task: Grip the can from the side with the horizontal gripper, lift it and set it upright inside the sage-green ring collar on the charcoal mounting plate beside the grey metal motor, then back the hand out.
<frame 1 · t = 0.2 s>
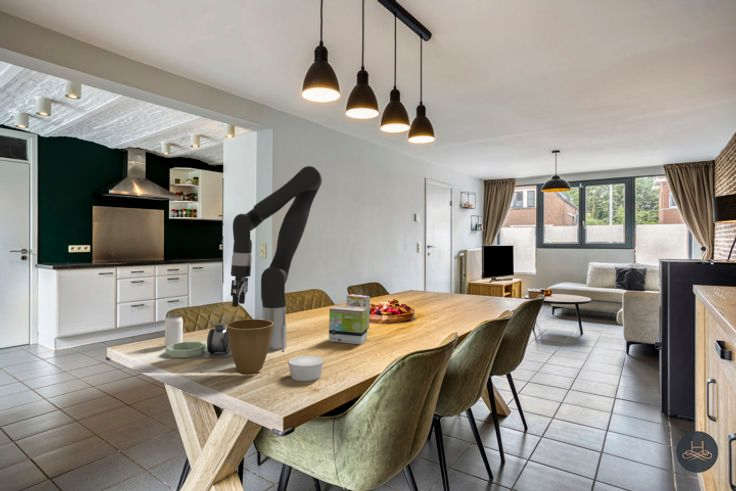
hand: (238, 305, 157), 18 cm above the table, tool pointing down, fingers open, 8 cm apart
ramekin: (305, 377, 128), on the table
can: (173, 346, 161), on the table
tea box: (348, 341, 174), on the table
plant pot: (249, 372, 132), on the table
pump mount: (186, 355, 149), on the table
motor: (220, 352, 150), resting on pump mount
candy bar box: (357, 328, 201), on the table
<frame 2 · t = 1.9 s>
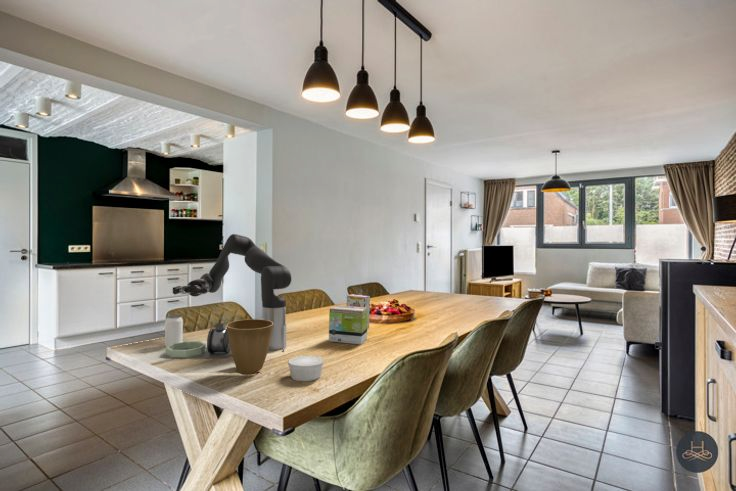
hand: (184, 292, 172), 20 cm above the table, tool horizontal, fingers open, 8 cm apart
nothing on the table moved.
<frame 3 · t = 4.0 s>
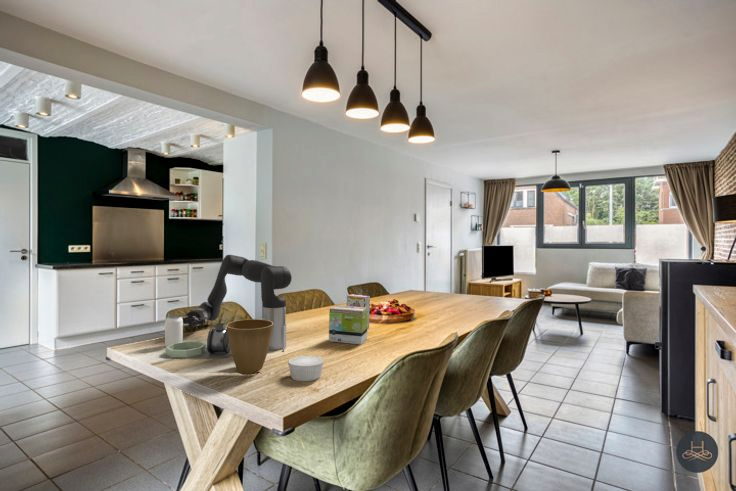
hand: (182, 324, 169), 7 cm above the table, tool horizontal, fingers open, 8 cm apart
nothing on the table moved.
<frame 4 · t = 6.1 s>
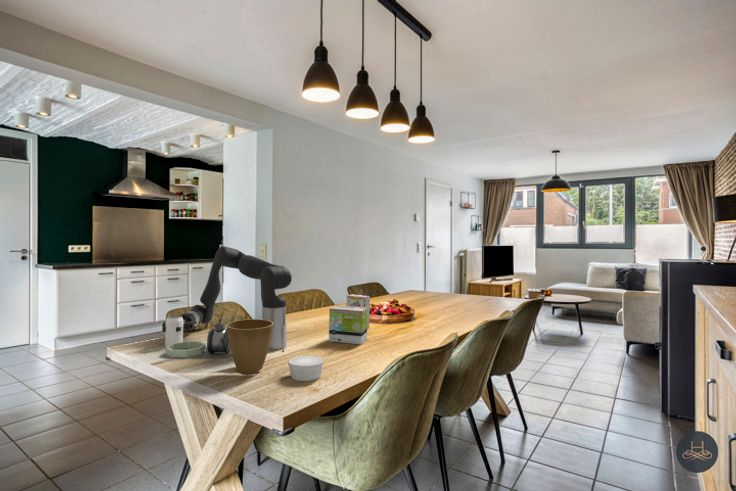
hand: (170, 329, 159), 7 cm above the table, tool horizontal, fingers open, 4 cm apart
can: (173, 346, 161), on the table, touching gripper
everything else where it was.
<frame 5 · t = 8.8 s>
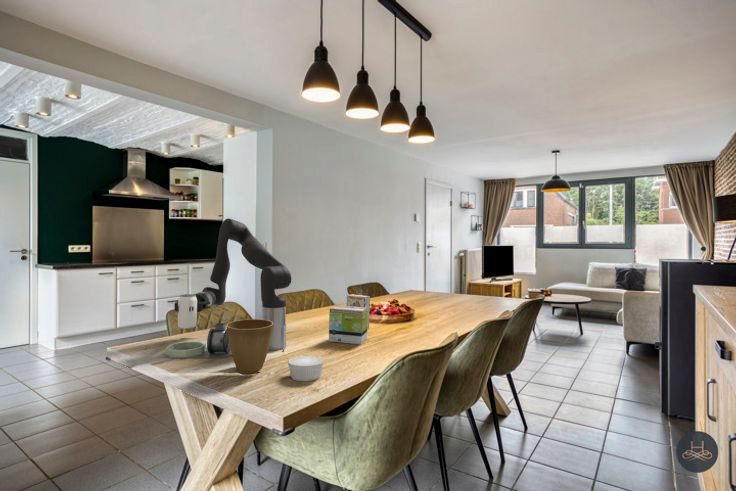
hand: (183, 309, 147), 18 cm above the table, tool horizontal, fingers closed on can, 4 cm apart
can: (187, 327, 150), point 10 cm above the table, touching gripper
everything else where it was.
when the fingers open (9 cm above the table, at t = 11.5 s): can stays where it is, resting on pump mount.
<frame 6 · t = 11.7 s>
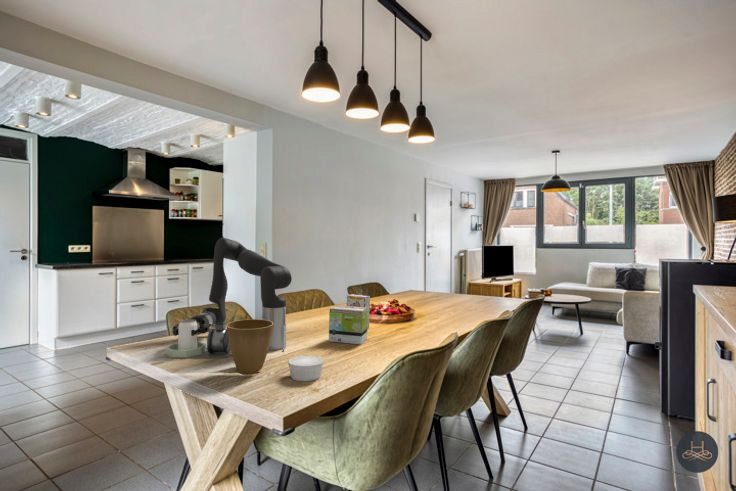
hand: (183, 332, 146), 9 cm above the table, tool horizontal, fingers open, 5 cm apart
can: (187, 352, 149), point 1 cm above the table, touching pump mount
everything else where it was.
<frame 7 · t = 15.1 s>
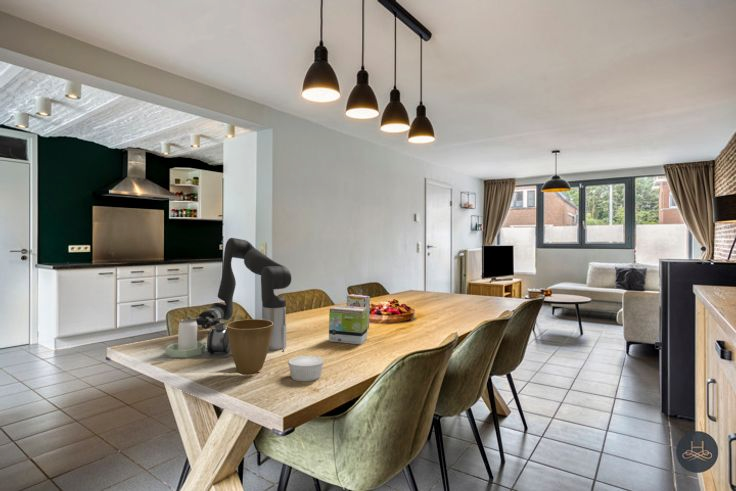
hand: (196, 325, 158), 9 cm above the table, tool horizontal, fingers open, 8 cm apart
nothing on the table moved.
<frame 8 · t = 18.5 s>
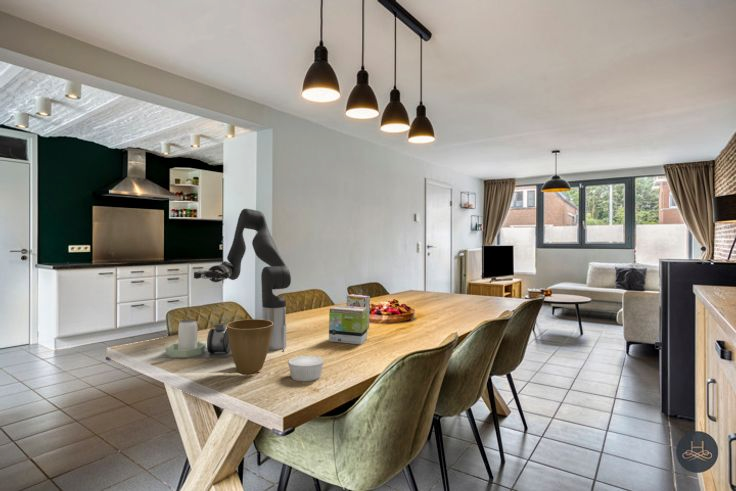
hand: (206, 276, 167), 28 cm above the table, tool horizontal, fingers open, 8 cm apart
nothing on the table moved.
at the end: can inside the target area on the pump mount (0.6 cm from its centre), point 0.8 cm above the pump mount's base; can tilted 0°; the gripper is holding nothing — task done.
